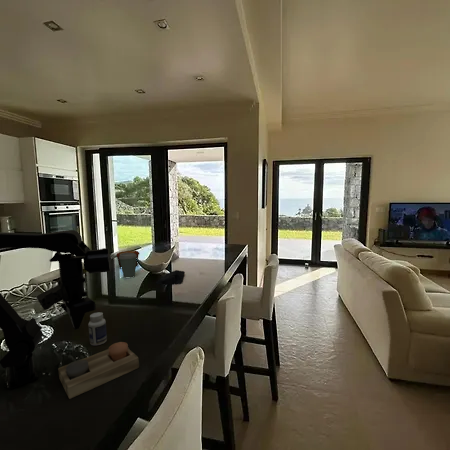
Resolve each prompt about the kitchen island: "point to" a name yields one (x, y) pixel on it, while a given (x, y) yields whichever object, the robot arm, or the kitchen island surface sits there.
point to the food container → (126, 252)
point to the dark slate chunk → (172, 278)
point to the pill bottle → (97, 329)
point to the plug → (77, 368)
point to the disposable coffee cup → (128, 264)
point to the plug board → (98, 372)
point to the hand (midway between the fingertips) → (76, 328)
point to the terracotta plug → (118, 351)
